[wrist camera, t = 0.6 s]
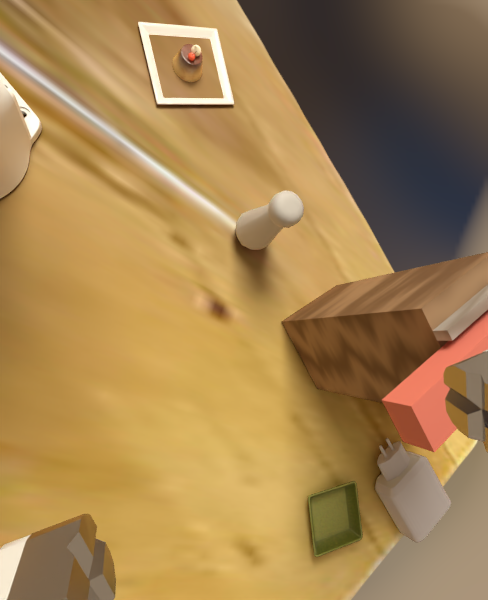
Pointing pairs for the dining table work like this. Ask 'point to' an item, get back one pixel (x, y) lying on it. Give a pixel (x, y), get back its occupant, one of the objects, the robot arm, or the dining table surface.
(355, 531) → the green square tray
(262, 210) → the salt shaker
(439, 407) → the salmon red bar
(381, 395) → the wooden knife block
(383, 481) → the charger
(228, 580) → the dining table surface
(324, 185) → the dining table surface
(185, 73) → the dessert
